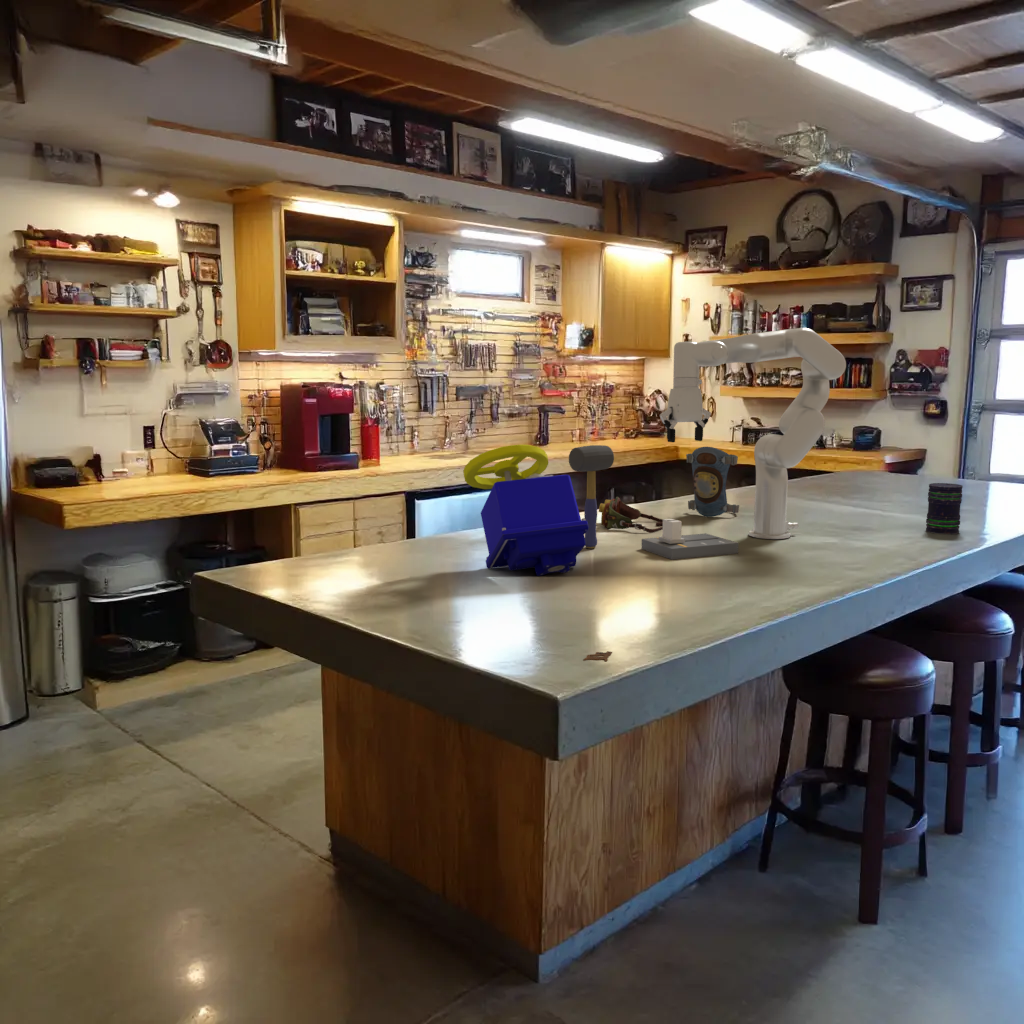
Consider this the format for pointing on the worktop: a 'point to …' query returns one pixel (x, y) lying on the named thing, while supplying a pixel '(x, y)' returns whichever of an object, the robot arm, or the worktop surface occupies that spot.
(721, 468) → the knee pad
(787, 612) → the worktop surface
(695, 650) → the worktop surface
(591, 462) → the rubber mallet
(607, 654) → the brown piece
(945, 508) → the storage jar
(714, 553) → the console
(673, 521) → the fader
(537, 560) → the blue valve actuator
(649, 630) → the worktop surface
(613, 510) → the goggles
